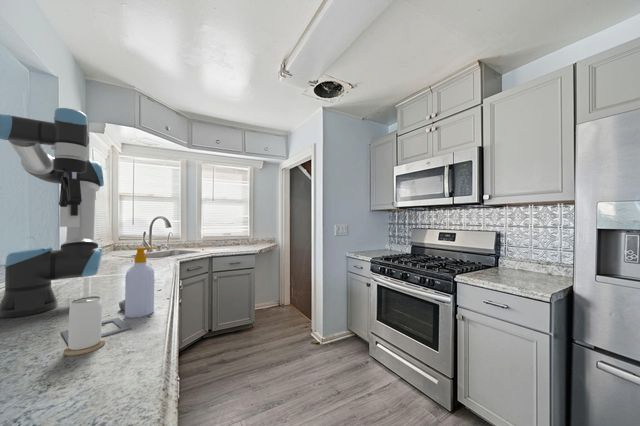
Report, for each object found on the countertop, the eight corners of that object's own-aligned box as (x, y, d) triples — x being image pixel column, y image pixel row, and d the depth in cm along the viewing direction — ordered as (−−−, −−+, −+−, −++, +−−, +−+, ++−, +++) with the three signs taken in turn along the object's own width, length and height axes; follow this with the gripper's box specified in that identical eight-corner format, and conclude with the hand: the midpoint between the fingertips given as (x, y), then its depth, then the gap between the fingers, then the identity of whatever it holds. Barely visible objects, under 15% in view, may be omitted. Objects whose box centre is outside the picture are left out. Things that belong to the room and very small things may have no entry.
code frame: (60, 332, 77) (60, 331, 77) (118, 318, 88) (118, 317, 88) (68, 346, 69) (69, 345, 69) (131, 329, 80) (131, 327, 80)
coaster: (61, 349, 67) (61, 346, 67) (100, 338, 73) (100, 336, 74) (66, 359, 62) (66, 356, 62) (108, 346, 69) (108, 344, 69)
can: (81, 352, 64) (82, 303, 65) (61, 350, 66) (62, 302, 66) (107, 340, 71) (108, 296, 71) (88, 338, 72) (89, 295, 72)
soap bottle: (151, 316, 90) (152, 248, 91) (120, 319, 88) (121, 249, 88) (159, 308, 99) (160, 246, 99) (130, 311, 96) (131, 246, 97)
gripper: (48, 163, 86) (46, 226, 85) (59, 149, 71) (58, 227, 70) (78, 166, 92) (77, 226, 91) (95, 155, 76) (94, 226, 76)
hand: (69, 227), depth 81 cm, fingers open, 13 cm apart
